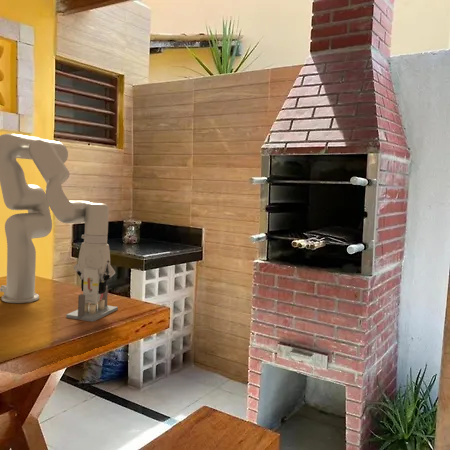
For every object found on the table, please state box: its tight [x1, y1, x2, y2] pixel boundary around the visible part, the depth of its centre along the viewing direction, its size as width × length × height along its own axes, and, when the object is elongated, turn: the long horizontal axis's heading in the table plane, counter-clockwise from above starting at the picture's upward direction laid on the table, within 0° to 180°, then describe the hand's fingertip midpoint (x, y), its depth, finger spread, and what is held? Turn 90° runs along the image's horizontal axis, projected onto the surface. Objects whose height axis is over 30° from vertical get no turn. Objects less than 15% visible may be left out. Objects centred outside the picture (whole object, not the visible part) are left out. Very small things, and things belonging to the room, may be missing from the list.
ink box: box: [82, 268, 103, 304], centre depth 157 cm, size 9×5×12 cm, turn 0°
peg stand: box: [65, 285, 119, 322], centre depth 158 cm, size 10×16×8 cm, turn 164°
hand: (93, 291), depth 158 cm, fingers closed on ink box, 5 cm apart
